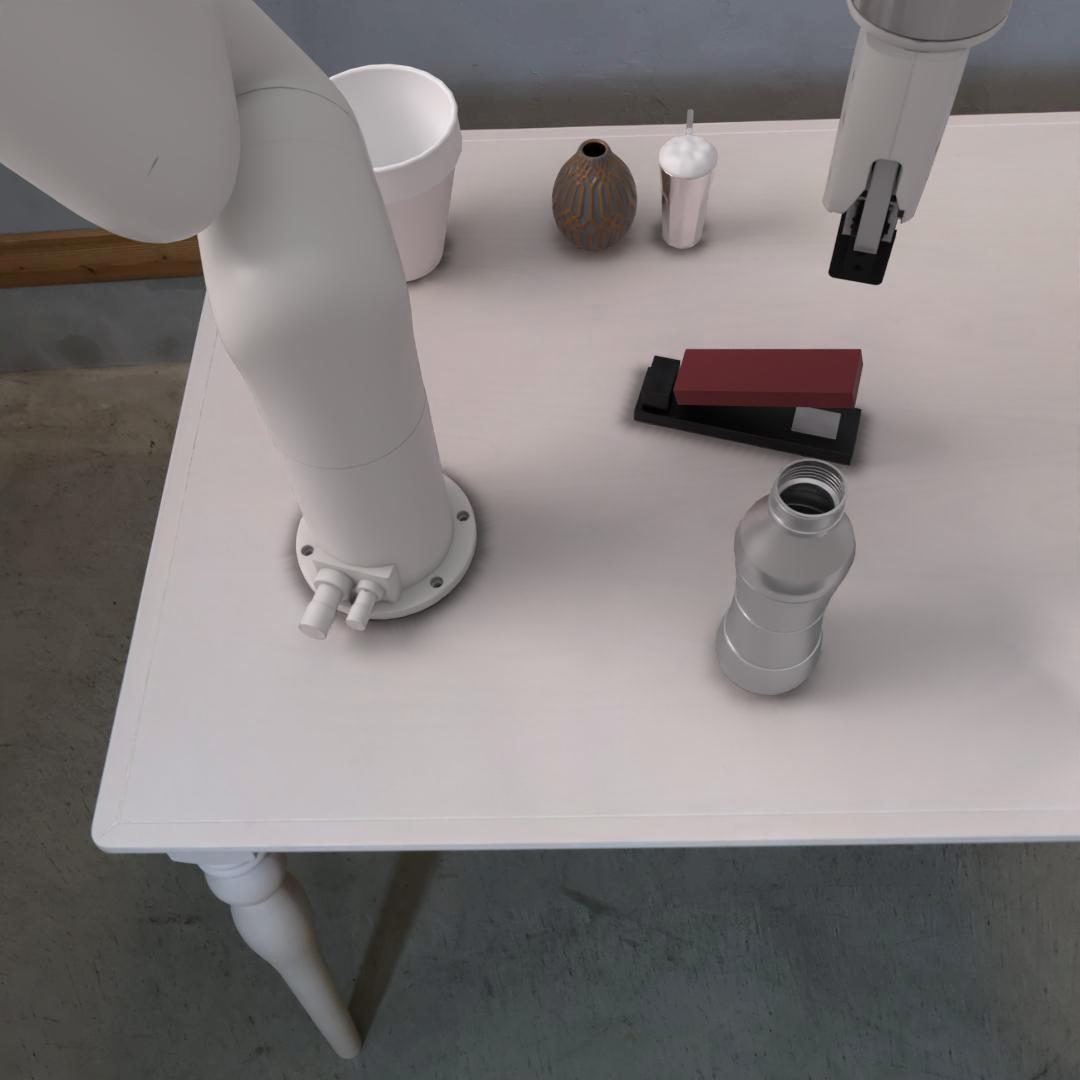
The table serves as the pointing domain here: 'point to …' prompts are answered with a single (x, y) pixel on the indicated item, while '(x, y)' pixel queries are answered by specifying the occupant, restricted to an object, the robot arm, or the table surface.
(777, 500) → the plastic bottle
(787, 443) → the stapler base
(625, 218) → the vase
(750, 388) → the stapler arm
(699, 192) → the milkshake
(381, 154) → the cup
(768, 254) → the table surface
